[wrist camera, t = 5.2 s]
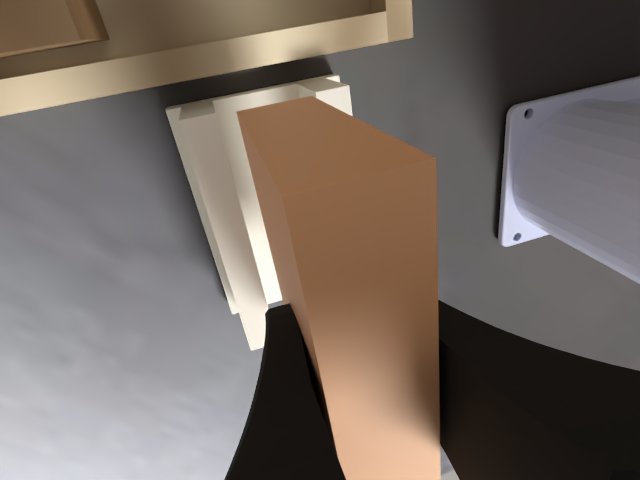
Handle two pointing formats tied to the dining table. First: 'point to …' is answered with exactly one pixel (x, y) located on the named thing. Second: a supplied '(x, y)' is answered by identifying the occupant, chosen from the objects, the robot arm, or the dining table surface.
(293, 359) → the robot arm
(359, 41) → the shallow wooden tray
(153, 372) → the dining table surface
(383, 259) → the panel
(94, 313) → the dining table surface
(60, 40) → the offcut
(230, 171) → the holder
